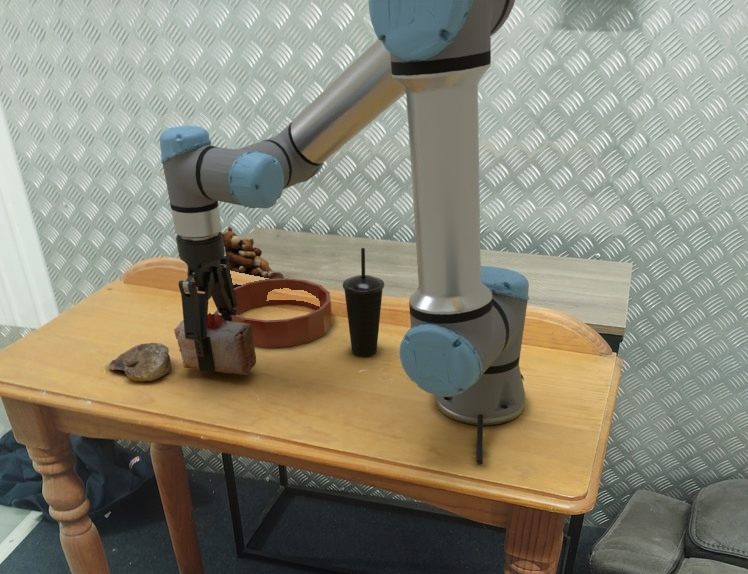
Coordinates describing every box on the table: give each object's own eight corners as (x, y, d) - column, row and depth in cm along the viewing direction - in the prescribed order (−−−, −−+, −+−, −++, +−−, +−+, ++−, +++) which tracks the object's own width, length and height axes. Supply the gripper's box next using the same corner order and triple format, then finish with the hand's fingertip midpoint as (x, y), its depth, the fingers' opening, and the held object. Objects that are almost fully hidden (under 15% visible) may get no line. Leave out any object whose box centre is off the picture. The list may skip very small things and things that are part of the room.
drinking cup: (379, 362, 136) (379, 257, 123) (340, 358, 137) (336, 254, 124) (387, 344, 141) (388, 242, 129) (349, 341, 143) (347, 240, 130)
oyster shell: (147, 351, 140) (141, 327, 137) (185, 371, 133) (180, 346, 130) (103, 368, 134) (97, 344, 131) (141, 390, 128) (135, 365, 125)
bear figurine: (254, 297, 160) (248, 242, 153) (205, 284, 166) (196, 230, 159) (291, 278, 169) (287, 225, 162) (243, 265, 175) (237, 214, 168)
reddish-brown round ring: (309, 353, 138) (307, 327, 135) (206, 339, 143) (202, 314, 140) (345, 309, 155) (344, 284, 151) (252, 297, 160) (249, 273, 156)
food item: (175, 371, 130) (165, 320, 124) (194, 351, 136) (186, 302, 130) (245, 380, 127) (238, 328, 121) (261, 359, 133) (256, 309, 127)
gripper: (207, 212, 125) (225, 333, 139) (144, 252, 109) (171, 383, 124) (246, 216, 123) (260, 337, 138) (188, 257, 108) (210, 389, 122)
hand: (218, 359), depth 131 cm, fingers closed on food item, 8 cm apart
